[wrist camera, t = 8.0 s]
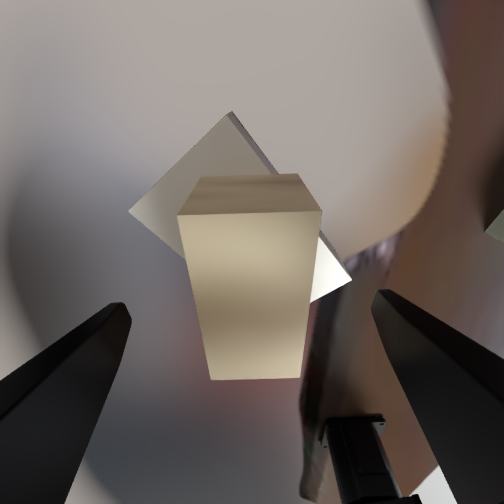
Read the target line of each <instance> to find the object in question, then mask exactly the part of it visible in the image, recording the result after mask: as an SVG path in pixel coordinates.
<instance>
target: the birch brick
mask: <svg viewBox="0 0 504 504" xmlns="http://www.w3.org/2000/svg"><path fill="white" fill-rule="evenodd" d="M321 216H322V210H321V209H320V207H319V206H318V204H317V203H316V201H315V200H314V198H313V196H312V195H311V193H310V192H309V190H308V189H307V187H306V186H305V184H304V183H303V181H302V180H301V178H300V177H299V175H298V174H269V175H238V176H207V177H201V178H200V179H199V181H198V182H197V184H196V186H195V187H194V189H193V190H192V192H191V194H190V195H189V197H188V198H187V200H186V201H185V203H184V205H183V206H182V208H181V209H180V211H179V213H178V214H177V220H178V224H179V229H180V234H181V239H182V243H183V248H184V253H185V258H186V263H187V267H188V272H189V277H190V281H191V287H192V291H193V296H194V301H195V306H196V310H197V315H198V320H199V325H200V330H201V334H202V339H203V344H204V349H205V354H206V358H207V363H208V368H209V372H210V377H211V380H233V379H235V380H237V379H274V378H275V379H277V378H300V374H301V366H302V359H303V351H304V343H305V336H306V328H307V321H308V314H309V306H310V299H311V291H312V284H313V276H314V269H315V261H316V253H317V246H318V238H319V231H320V223H321Z"/></svg>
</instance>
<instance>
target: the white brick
mask: <svg viewBox="0 0 504 504" xmlns="http://www.w3.org/2000/svg"><path fill="white" fill-rule="evenodd" d="M269 174H279V173H278V172H277V171H276V169H275V168H274V167H273V165H272V164H271V163H270V161H269V160H268V159H267V157H266V156H265V155H264V153H263V152H262V151H261V149H260V148H259V146H258V145H257V144H256V142H255V141H254V140H253V138H252V137H251V136H250V134H249V133H248V132H247V130H246V129H245V128H244V126H243V125H242V124H241V122H240V121H239V120H238V118H237V117H236V116H235V114H234V113H233V111H231V112H230V113H228V114H227V115H225V117H223V118H222V119H221V120H220V121H219V122H218V123H217V124H216V125H215V126H214V127H213V128H212V129H211V130H210V131H209V132H208V133H207V134H206V135H205V136H204V137H203V138H202V139H201V140H200V141H199V142H198V143H197V144H196V145H195V146H194V147H193V148H192V149H191V150H190V151H189V152H188V153H187V154H186V155H185V156H184V157H183V158H182V159H181V160H180V161H179V162H178V163H177V164H176V165H175V166H174V167H173V168H171V169H170V170H169V171H168V172H167V174H165V175H164V176H163V177H162V178H161V179H160V180H159V181H158V182H157V183H156V184H155V185H154V186H153V187H152V188H151V189H150V190H149V191H148V192H147V193H146V194H145V195H144V196H143V197H142V198H141V199H140V200H139V201H138V202H137V203H136V204H135V205H134V206H133V207H132V208H131V209H130V210H129V211H128V212H129V213H131V214H132V215H133V216H134V217H135V218H136V219H138V220H139V221H140V222H141V223H142V224H143V225H145V226H146V227H147V228H148V229H149V230H150V231H152V232H153V233H154V234H155V235H156V236H157V237H159V238H160V239H161V240H162V241H163V242H164V243H166V244H167V245H168V246H169V247H170V248H172V249H173V250H174V251H175V252H176V253H177V254H178V255H180V256H181V257H182V258H183V259H184V260H185V261H186V258H185V253H184V248H183V243H182V239H181V234H180V229H179V224H178V220H177V214H178V213H179V211H180V209H181V208H182V206H183V205H184V203H185V201H186V200H187V198H188V197H189V195H190V194H191V192H192V190H193V189H194V187H195V186H196V184H197V182H198V181H199V179H200V178H201V177H207V176H238V175H269ZM351 280H352V279H351V277H350V275H349V274H348V272H347V270H346V268H345V266H344V264H343V263H342V261H341V259H340V257H339V255H338V254H337V252H336V250H335V249H334V247H333V246H332V245H331V243H330V242H329V241H328V239H327V238H326V237H325V235H324V234H323V233H322V231H321V230H320V231H319V238H318V246H317V253H316V261H315V269H314V276H313V284H312V291H311V299H310V302H312V301H314V300H316V299H318V298H320V297H321V296H323V295H325V294H327V293H329V292H331V291H333V290H334V289H336V288H338V287H340V286H342V285H344V284H346V283H347V282H349V281H351Z"/></svg>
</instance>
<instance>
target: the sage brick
mask: <svg viewBox="0 0 504 504" xmlns="http://www.w3.org/2000/svg"><path fill="white" fill-rule="evenodd" d="M485 233H487V234H489V235H490V236H492V237H494V238H496V239H497V240H499V241H501V242H503V243H504V209H503V211H502V212H501V213H500V214H499V215H498V217H497V218H496V219H495V220H494V221H493V222H492V224H491V225H490V226H489V227H488V228H487V229H486V231H485Z"/></svg>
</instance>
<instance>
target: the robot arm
mask: <svg viewBox="0 0 504 504" xmlns="http://www.w3.org/2000/svg"><path fill="white" fill-rule="evenodd" d="M371 311H372V315H373V318H374V321H375V323H376V326H377V329H378V332H379V335H380V338H381V341H382V344H383V346H384V349H385V352H386V354H387V356H388V359H389V361H390V363H391V365H392V367H393V369H394V371H395V373H396V376H397V378H398V380H399V382H400V384H401V386H402V388H403V390H404V392H405V394H406V397H407V399H408V401H409V403H410V405H411V407H412V409H413V411H414V413H415V416H416V418H417V420H418V422H419V424H420V426H421V428H422V430H423V432H424V434H425V437H426V439H427V441H428V443H429V445H430V447H431V449H432V451H433V453H434V455H435V458H436V460H437V462H438V464H439V466H440V468H441V470H442V472H443V474H444V477H445V479H446V481H447V483H448V485H449V487H450V489H451V491H452V493H453V495H454V498H455V500H456V502H457V504H504V359H503V358H501V357H500V356H498V355H496V354H495V353H493V352H491V351H490V350H488V349H486V348H485V347H483V346H482V345H480V344H478V343H477V342H475V341H473V340H472V339H470V338H469V337H467V336H465V335H464V334H462V333H460V332H459V331H457V330H455V329H454V328H452V327H451V326H449V325H447V324H446V323H444V322H442V321H441V320H439V319H438V318H436V317H434V316H433V315H431V314H429V313H428V312H426V311H424V310H423V309H421V308H420V307H418V306H416V305H415V304H413V303H411V302H410V301H408V300H406V299H405V298H403V297H402V296H400V295H398V294H397V293H395V292H393V291H392V290H390V289H378V290H376V292H375V295H374V298H373V302H372V305H371ZM131 324H132V319H131V316H130V315H129V312H128V310H127V308H126V306H125V304H124V303H122V302H117V303H110V304H109V305H107V306H106V307H104V308H103V309H102V310H100V311H99V312H97V313H96V314H94V315H93V316H92V317H90V318H89V319H87V320H86V321H85V322H83V323H82V324H80V325H79V326H77V327H76V328H75V329H73V330H72V331H70V332H69V333H67V334H66V335H65V336H63V337H62V338H60V339H59V340H57V341H56V342H55V343H53V344H52V345H50V346H49V347H48V348H46V349H45V350H43V351H42V352H40V353H39V354H38V355H36V356H35V357H33V358H32V359H30V360H29V361H27V362H26V363H25V364H23V365H22V366H21V367H19V368H17V369H16V370H15V371H13V372H12V373H10V374H9V375H7V376H6V377H5V378H3V379H2V380H0V504H64V503H65V501H66V498H67V496H68V493H69V491H70V488H71V486H72V483H73V481H74V478H75V476H76V473H77V471H78V468H79V466H80V463H81V461H82V458H83V456H84V453H85V451H86V448H87V446H88V443H89V441H90V438H91V436H92V433H93V431H94V428H95V426H96V423H97V421H98V418H99V416H100V413H101V411H102V408H103V406H104V403H105V401H106V398H107V396H108V393H109V391H110V388H111V386H112V383H113V381H114V378H115V376H116V373H117V371H118V368H119V365H120V362H121V359H122V356H123V352H124V349H125V345H126V342H127V338H128V335H129V331H130V328H131ZM386 424H387V423H386V421H385V419H384V418H365V419H337V420H327V421H325V424H324V429H323V434H322V438H321V448H323V449H329V450H330V455H331V459H332V464H333V468H334V472H335V477H336V481H337V486H338V490H339V495H340V499H341V503H342V504H422V502H421V500H420V498H419V495H418V494H414V495H412V496H409V497H402V494H401V491H400V489H399V486H398V484H397V481H396V478H395V476H394V473H393V471H392V468H391V465H390V463H389V460H388V458H387V455H386V452H385V450H384V447H383V444H382V442H381V439H380V436H381V434H382V432H383V430H384V428H385V426H386Z"/></svg>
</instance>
